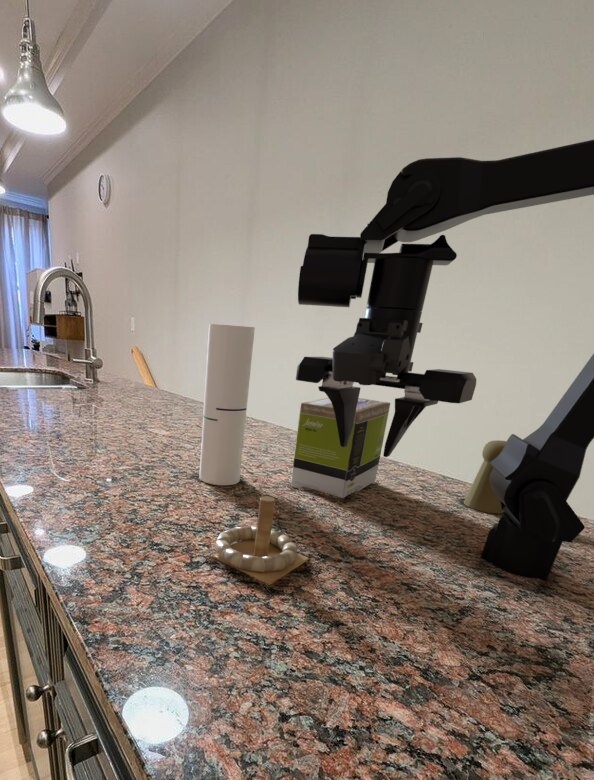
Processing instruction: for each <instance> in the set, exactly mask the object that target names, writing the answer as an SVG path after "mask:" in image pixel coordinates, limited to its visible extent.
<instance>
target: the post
mask: <svg viewBox="0 0 594 780" xmlns="http://www.w3.org/2000/svg"><path fill="white" fill-rule="evenodd" d="M275 504H276V499H275V498H274V497H273V496H267V495H263V496H261V497H260V498H259V506H258V514H257V515H258V516H257V524H256V527H257V531H256V539H255V540H251V539H250V540H239V541H236V542H234V543H232V544H230V546H231V548H232V549H234V550H236V551H238V552H240V553H242V554H245V555H251V556H258V557H268V556H277V555H278V554H280V553H282V550H281V549H280V548H279V547H277V546H275V545H273V544H270V536H271V530H272V527H273V520H274V513H275V511H274V510H275ZM210 557H211V558H213V559H214V560H217V561H219V562H221V563H223V564H225V565H227V566H228V567H229V566H230V567H231V568H234V569H236V570H238V571H240V572H242V573H244V574H246V575H248V576H250V577H252V578H254V579H256V580H259V581H261V582H263V583H265V584H267V585H269V586H270V585H273V584H274V583H275V582H276V581H279V580H280V579H281V578H283V577H284V576H286V575H287V574H289V573H291V572H292V571H294V570H295V569H297V568H298V567H300V566H301V565H303V564H305V563H306V562H308V561H309V559H310V558H309V557H308V556H305V555H303V554H300V553H298V552H297V557H296V561H295V562H294V563H292V564H291V565H289V566H288V567H286V568H284V569H283V570H279V571H270V572H255V571H249V570H243V569H239V568H237V567H235V566H233V565H231V564H229V563H227V562H225V561H223V560H222V559H221V557H220V556H219V554H218V553H217V552H214V553H212V554H211V555H210Z"/></svg>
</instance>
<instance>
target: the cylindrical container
mask: <svg viewBox="0 0 594 780" xmlns="http://www.w3.org/2000/svg"><path fill="white" fill-rule="evenodd" d="M255 330H256V328H255V326H245V325H244V326H243V325H229V324H217V323H216V324H215V323H209V324H208V331H207V333H208V334H207V348H206V349H207V350H206V365H205V366H206V367H205V381H204V395H203V399H204V400H203V411H202V412H203V413H202V427H201V444H200V445H201V446H200V457H199V458H200V460H199V475H198V477H199V480H200V481H202V482H204V483H206V484H209V485H214V486H232V485H236V484H238V483H239V482H240V479H241V470H242V458H243V448H244V439H245V438H244V437H245V429H246V420H247V410H248V409H247V408H248V399H249V389H250V381H251V370H252V359H253V348H254V340H255Z"/></svg>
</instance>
